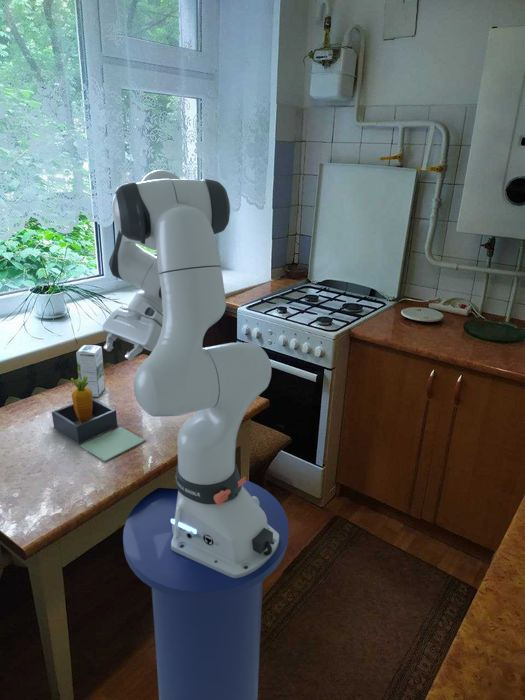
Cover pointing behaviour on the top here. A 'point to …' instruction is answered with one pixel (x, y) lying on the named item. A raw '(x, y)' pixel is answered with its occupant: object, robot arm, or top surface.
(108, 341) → the robot arm
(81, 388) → the carrot
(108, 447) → the mat
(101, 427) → the crate
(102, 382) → the syrup box
